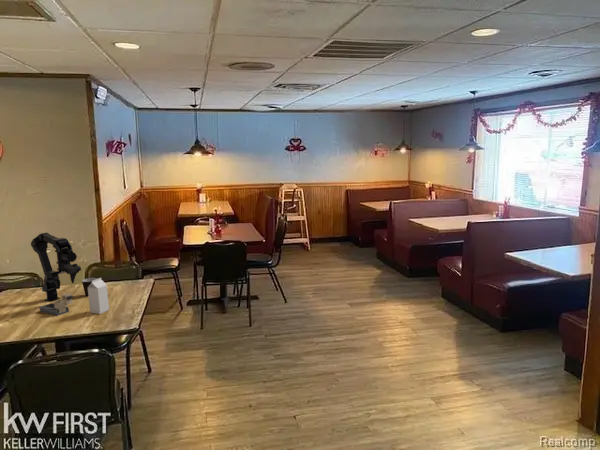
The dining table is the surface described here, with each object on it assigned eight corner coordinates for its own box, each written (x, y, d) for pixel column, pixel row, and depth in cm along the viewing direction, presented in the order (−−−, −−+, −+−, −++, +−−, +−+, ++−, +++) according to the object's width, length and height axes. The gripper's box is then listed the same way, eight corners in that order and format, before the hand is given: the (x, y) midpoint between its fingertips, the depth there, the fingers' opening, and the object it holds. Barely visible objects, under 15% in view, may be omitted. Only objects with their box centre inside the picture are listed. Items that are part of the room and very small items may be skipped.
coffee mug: (92, 297, 288) (91, 282, 286) (80, 296, 290) (78, 281, 288) (104, 291, 299) (102, 276, 298) (92, 291, 301) (90, 276, 299)
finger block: (62, 304, 276) (61, 294, 275) (68, 302, 280) (67, 293, 279) (67, 305, 274) (66, 296, 273) (73, 303, 277) (72, 294, 276)
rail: (40, 311, 265) (38, 299, 263) (52, 307, 271) (50, 296, 270) (56, 315, 257) (55, 303, 255) (68, 311, 263) (67, 300, 262)
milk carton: (109, 309, 264) (106, 278, 261) (100, 314, 257) (96, 281, 254) (99, 308, 266) (96, 277, 263) (90, 313, 260) (86, 280, 257)
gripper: (56, 265, 260) (58, 291, 263) (85, 257, 276) (88, 282, 279) (44, 262, 266) (47, 288, 269) (74, 255, 282) (76, 280, 284)
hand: (65, 285), depth 275 cm, fingers open, 9 cm apart
